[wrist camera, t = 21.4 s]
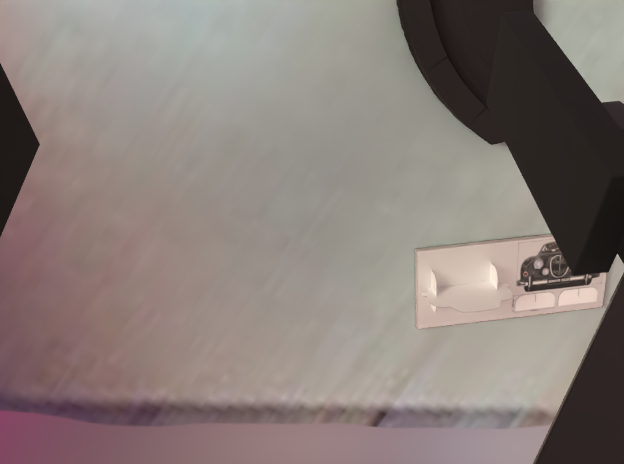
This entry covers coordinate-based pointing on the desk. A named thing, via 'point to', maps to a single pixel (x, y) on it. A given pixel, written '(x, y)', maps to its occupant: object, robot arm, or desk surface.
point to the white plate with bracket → (499, 282)
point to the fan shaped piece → (458, 53)
